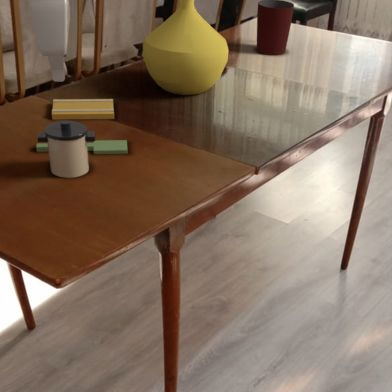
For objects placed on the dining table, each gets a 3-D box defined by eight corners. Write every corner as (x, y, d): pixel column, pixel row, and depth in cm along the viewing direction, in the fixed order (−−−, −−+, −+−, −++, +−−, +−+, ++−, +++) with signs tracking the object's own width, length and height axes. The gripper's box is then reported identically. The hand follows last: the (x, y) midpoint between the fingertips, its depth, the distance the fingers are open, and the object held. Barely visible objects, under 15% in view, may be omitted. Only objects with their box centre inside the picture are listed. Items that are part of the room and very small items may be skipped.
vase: (126, 84, 139) (123, -14, 127) (189, 69, 149) (191, -23, 136) (179, 108, 129) (181, 5, 117) (243, 91, 138) (251, -7, 126)
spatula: (36, 155, 110) (35, 150, 109) (37, 145, 113) (37, 140, 113) (127, 154, 112) (127, 148, 111) (126, 144, 115) (126, 138, 114)
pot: (41, 179, 103) (34, 130, 98) (43, 161, 108) (37, 114, 103) (97, 178, 104) (94, 130, 99) (97, 160, 109) (93, 113, 104)
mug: (261, 41, 168) (266, -5, 161) (293, 46, 166) (299, -1, 159) (249, 53, 159) (254, 5, 152) (283, 58, 157) (289, 10, 150)
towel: (52, 120, 122) (51, 112, 121) (54, 105, 128) (53, 98, 127) (114, 119, 124) (113, 112, 123) (113, 104, 130) (112, 97, 129)
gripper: (30, -50, 94) (43, 49, 103) (18, -20, 78) (34, 93, 88) (73, -50, 94) (82, 48, 103) (69, -20, 79) (80, 92, 88)
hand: (60, 69), depth 95 cm, fingers open, 8 cm apart
